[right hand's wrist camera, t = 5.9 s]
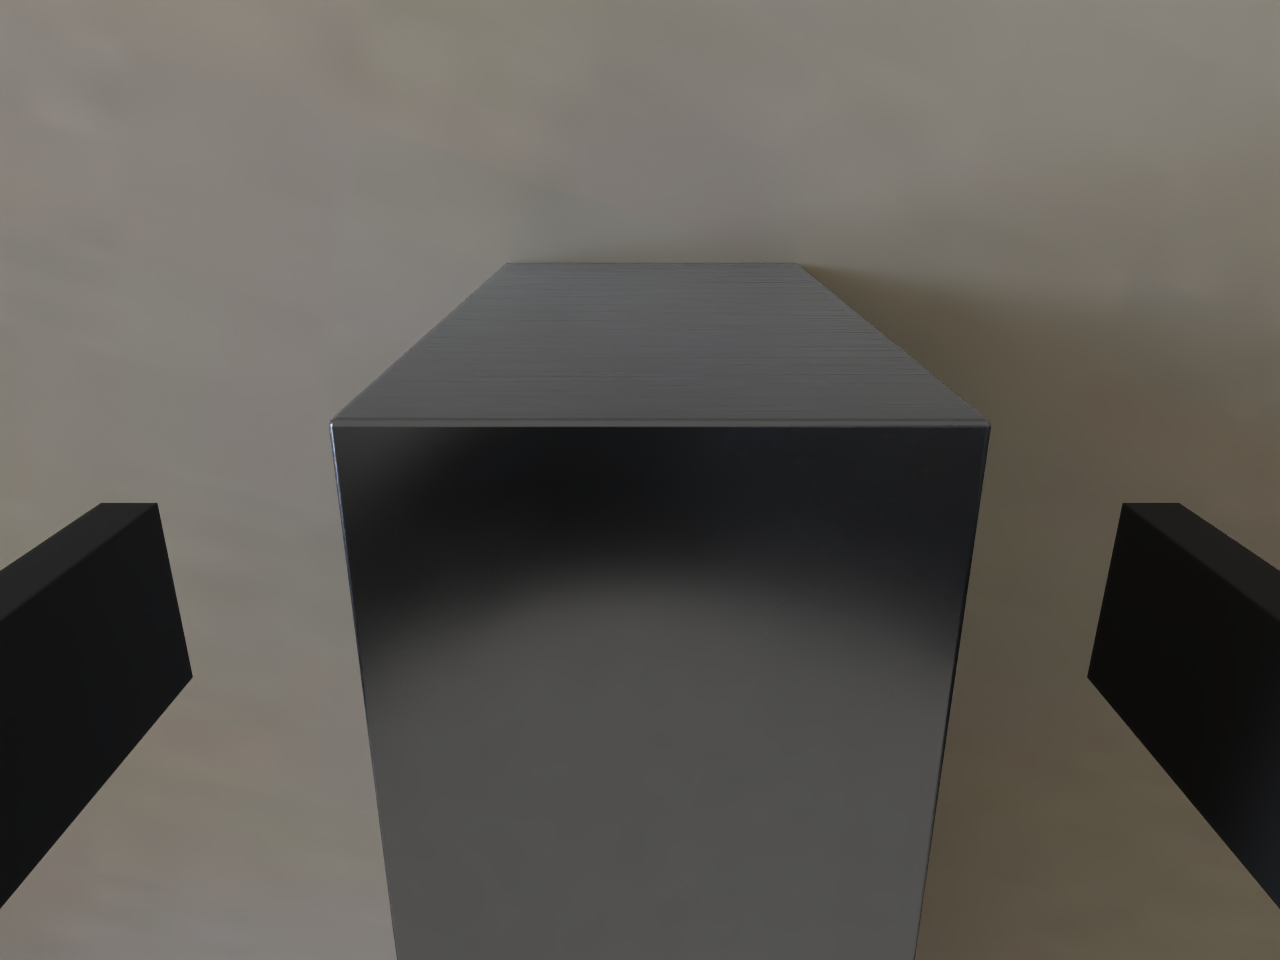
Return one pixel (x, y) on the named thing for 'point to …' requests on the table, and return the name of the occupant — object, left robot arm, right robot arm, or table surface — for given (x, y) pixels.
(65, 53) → the table surface
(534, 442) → the bar
